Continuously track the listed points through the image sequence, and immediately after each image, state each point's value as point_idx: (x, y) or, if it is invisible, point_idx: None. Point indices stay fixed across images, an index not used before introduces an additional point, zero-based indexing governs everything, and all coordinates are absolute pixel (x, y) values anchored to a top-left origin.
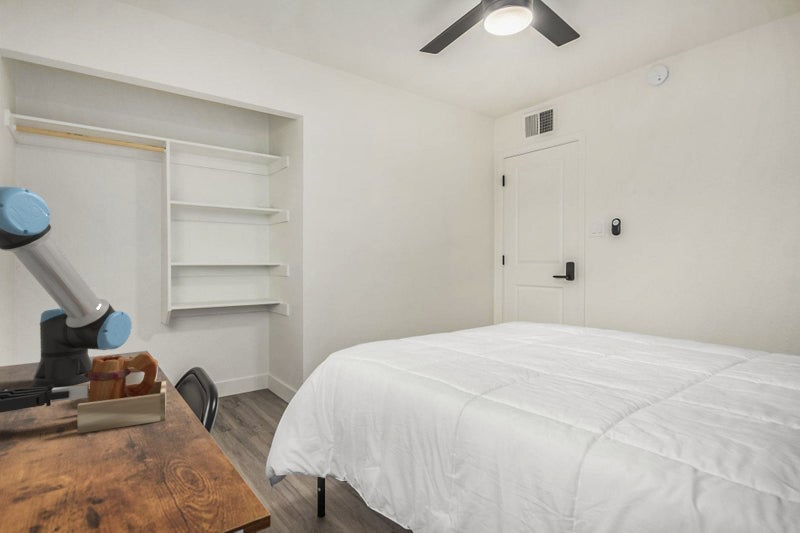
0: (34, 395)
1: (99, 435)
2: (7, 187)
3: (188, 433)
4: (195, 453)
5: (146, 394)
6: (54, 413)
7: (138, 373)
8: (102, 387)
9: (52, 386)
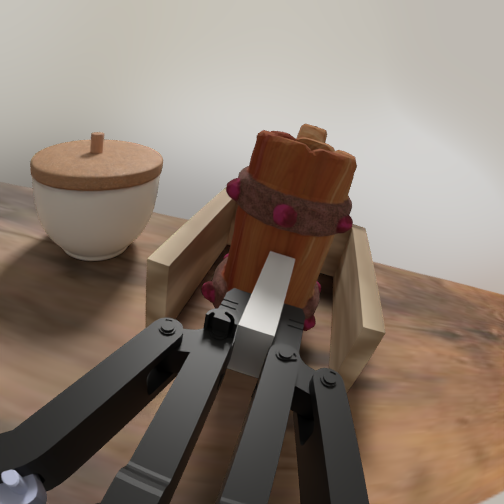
0: (346, 403)
1: (384, 362)
2: None
3: (422, 282)
4: (482, 300)
5: (221, 231)
6: (49, 381)
7: (158, 179)
8: (327, 249)
9: (234, 319)
